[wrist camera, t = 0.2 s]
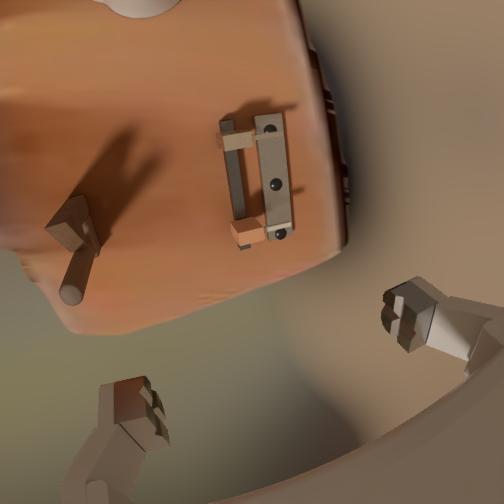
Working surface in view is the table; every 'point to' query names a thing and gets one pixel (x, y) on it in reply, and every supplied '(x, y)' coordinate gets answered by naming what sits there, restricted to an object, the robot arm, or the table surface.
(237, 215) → the rail
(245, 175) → the table surface
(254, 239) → the block
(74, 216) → the brown angular bracket
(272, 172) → the hole strip
